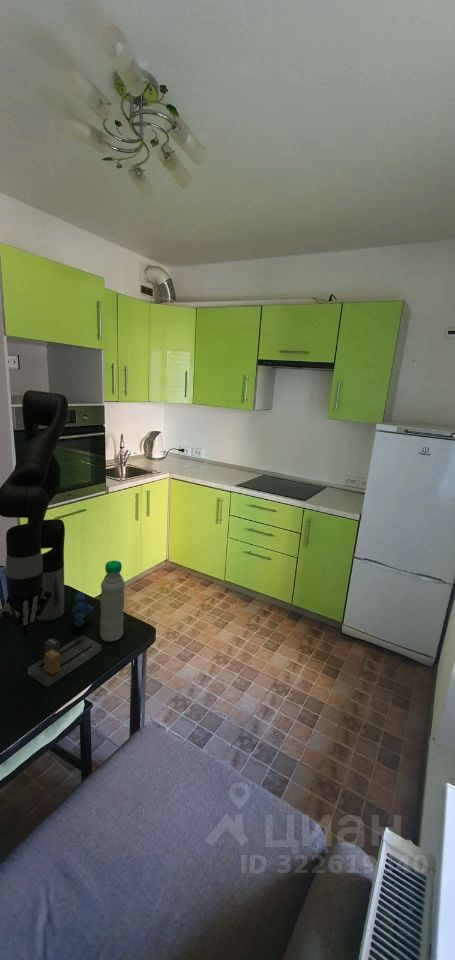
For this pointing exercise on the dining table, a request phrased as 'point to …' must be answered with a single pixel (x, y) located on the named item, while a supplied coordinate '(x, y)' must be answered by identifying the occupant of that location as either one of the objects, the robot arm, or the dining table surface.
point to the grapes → (80, 609)
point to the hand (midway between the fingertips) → (26, 635)
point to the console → (66, 660)
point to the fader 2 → (52, 662)
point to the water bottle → (112, 602)
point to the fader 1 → (52, 645)
